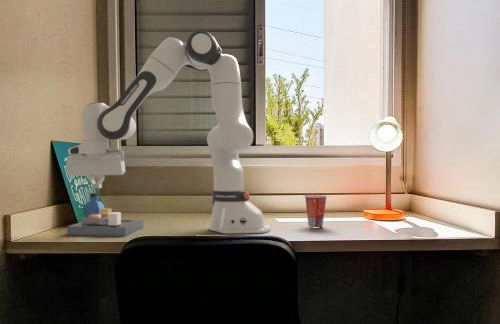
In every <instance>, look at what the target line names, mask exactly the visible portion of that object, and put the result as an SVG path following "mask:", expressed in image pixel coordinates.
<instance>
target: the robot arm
mask: <svg viewBox="0 0 500 324" xmlns="http://www.w3.org/2000/svg"><path fill="white" fill-rule="evenodd" d="M222 52H223V50H222V48H221V46H220V45H219V44H218V42H217V40H216V38H215V36H213V35H212V34H211V33H210V32H208V31H207V30H202V29H201V30H195V31H193V32H192V33H191V34H190V35H189V36H188V38H187V40H186V41H181V40H180V39H178V38H175V37H171V36H170V37H167V38H165V39H164V40H163V41H162V42H161V43H159V44H158V46H157V47H156V48H155V49H154V51H152V53H151V54H150V55H149V57H148V58H147V60H146V61H145V62H144V64H143V66H142V68H141V69H140V71H139V72H138V74H137V75H136V77H135V78H134V80H133V81H132V82H131V84H129V86H128V87H127V89H125V91H124V93H123V94H122V95H121V96H120V97H119V98H118V100H117V101H116V102H115V103H114V104H113V105H111V106H109V105H107V104H106V103H105V102H92V103H88V104H86V105H84V106H83V108H82V109H81V111H82V112H81V122H80V123H81V126H80V127H81V131H82V137H81V144H78V145H75V146H72V147H70V148H68V149H67V154H68V157H67V159H66V168H65V169H66V173H67V175H68V176H69V177H71V176H75V177H76V176H85V177H87V179H88V181H89V183H90V184H91V186H90V187H91V189H102V188H103V182H104V180H105V178H106V177H105V176H123V175H125V173H126V163H125V152H124V151H123V150H122V149H120V148H110V140H113V141H114V140H121V141H123V140H127V139H130V138H131V137H133V136H134V135H135V133H136V130H137V123H136V121H135V118H133V115H134V114H135V112H136V111H137V109H138V108H139V107H140V106H141V104H143V102H144V100H145V99H146V98H147V97H149V95H151V94H153V93H155V92H159V91H163V90H165V89H166V88H167V87H168V86H169V85H170V84H171V83H172V82H173V81H174V80H175V78H176V77H177V75H178V73H179V72H180V71H181V70H182V68H183V67H184V66H185V67H187V68H190V69H193V70H196V71H200V72H205V71H208V72H209V76H210V77H209V78H210V89H211V91H210V92H211V108H212V110H213V111H214V113H215V117H216V119H217V124H218V125H215V126H214V127H212V129H210V131H209V132H208V134H207V137H206V143H207V146H208V147H209V151H210V156H211V161H212V167H213V168H212V169H213V170H212V171H213V190H212V193H211V203H212V204H211V205H212V212H211V219H210V225H209V227H208V228H209V230H210V231H213V232H218V233H221V234H258V233H259V234H264V233H268V232H269V231H271V225H269V224H268V223H265V217H264V214H263V212H262V210H261V209H260V208H258V207H257V206H256V205H255V204H253V203H252V202H250V201H249V199H250V192H247V191H245V190H244V187H245V186H244V180H245V179H244V178H245V177H244V175H245V174H244V168H243V166H242V164H241V160H240V156H239V153H241V152H243V151H246V150H247V149H249V147H251V145H252V144H253V141H254V131H253V130H252V128H251V127H250V125H249V124H248V122H247V118H246V115H245V111H244V108H243V97H242V96H243V95H242V94H243V93H242V79H241V73H240V67H239V64H238V61H237V58H236V57H234V56H233V55H230V54H225V53H222ZM96 176H97V179H98V182H96V180H95V177H96Z"/></svg>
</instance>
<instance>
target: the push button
mask: <svg viewBox="0 0 500 324" xmlns="http://www.w3.org/2000/svg"><path fill="white" fill-rule="evenodd" d="M99 218H101V214H92V215H89V219H99Z"/></svg>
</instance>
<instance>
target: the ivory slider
mask: <svg viewBox="0 0 500 324" xmlns="http://www.w3.org/2000/svg"><path fill="white" fill-rule="evenodd" d="M121 219H122V212H119V211H117V212H116V211H112V213H109V214H108V225H112V226H117V225H120V224H121Z"/></svg>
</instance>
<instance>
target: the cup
mask: <svg viewBox="0 0 500 324" xmlns="http://www.w3.org/2000/svg"><path fill="white" fill-rule="evenodd" d="M301 196H303V197H305V205H306V216H307V223H308V224H307V225H308V227H309V226H310V227H322V228H323V227H324V216H325V211H326V209H325V208H326V203H327V197H328V196H327V195H324V194H323V195H322V194H303V195H301Z"/></svg>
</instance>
